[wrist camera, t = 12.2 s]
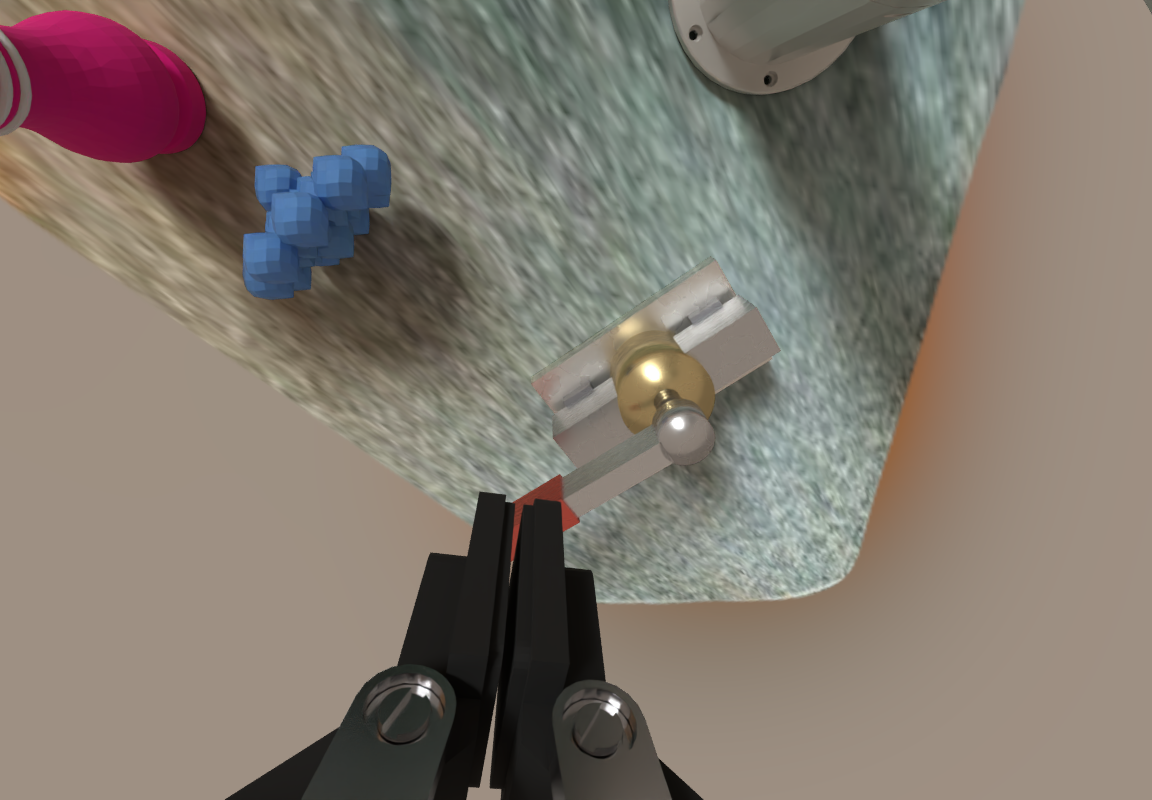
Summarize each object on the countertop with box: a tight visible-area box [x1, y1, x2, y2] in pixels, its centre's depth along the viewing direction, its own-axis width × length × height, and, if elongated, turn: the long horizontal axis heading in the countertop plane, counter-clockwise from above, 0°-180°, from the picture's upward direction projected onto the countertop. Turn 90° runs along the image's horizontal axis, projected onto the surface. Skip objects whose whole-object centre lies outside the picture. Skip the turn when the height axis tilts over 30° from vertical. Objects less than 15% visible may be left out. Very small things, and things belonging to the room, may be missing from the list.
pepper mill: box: [0, 10, 206, 163], centre depth 25 cm, size 7×7×20 cm
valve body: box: [531, 256, 781, 468], centre depth 39 cm, size 16×9×10 cm, turn 125°
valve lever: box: [511, 399, 715, 561], centre depth 34 cm, size 16×3×3 cm, turn 123°
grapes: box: [243, 145, 391, 300], centre depth 32 cm, size 12×7×12 cm, turn 132°
